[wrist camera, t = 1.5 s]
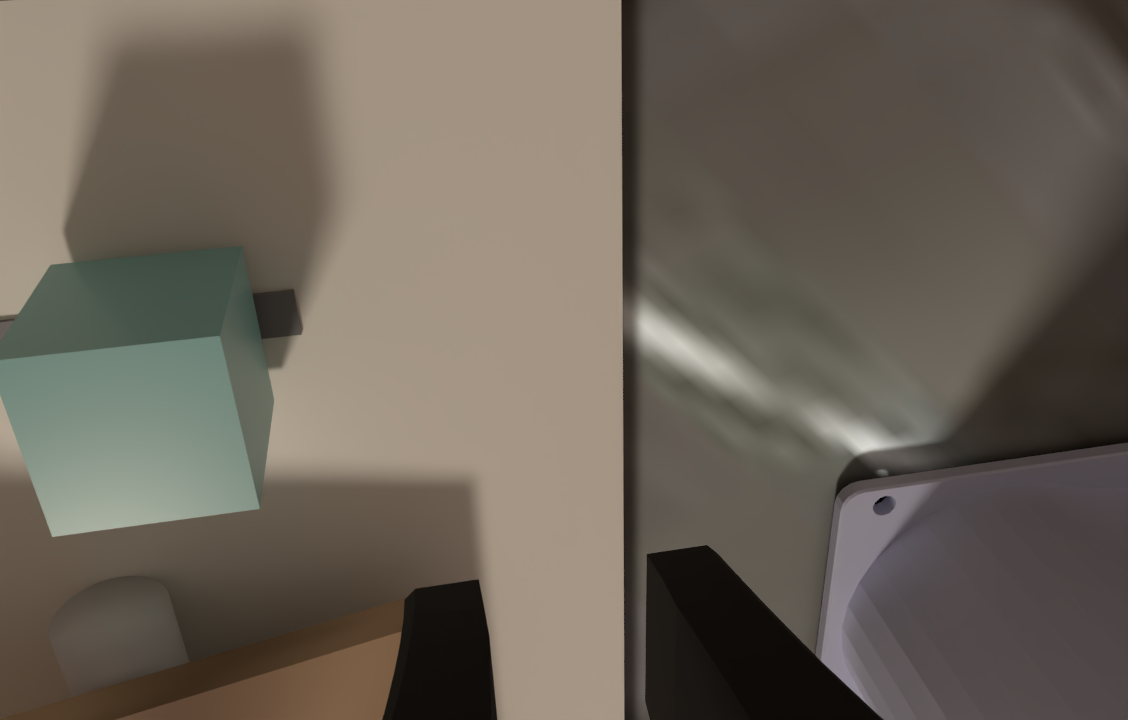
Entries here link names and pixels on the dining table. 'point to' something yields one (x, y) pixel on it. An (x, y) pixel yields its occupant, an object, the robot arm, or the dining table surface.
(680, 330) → the dining table surface
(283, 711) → the panel
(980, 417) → the dining table surface
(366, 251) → the panel
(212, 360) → the teal slider
